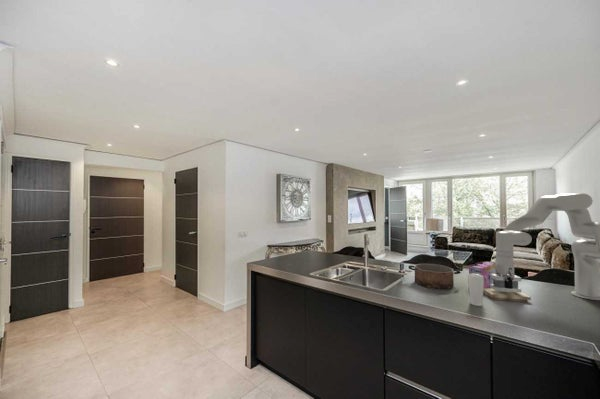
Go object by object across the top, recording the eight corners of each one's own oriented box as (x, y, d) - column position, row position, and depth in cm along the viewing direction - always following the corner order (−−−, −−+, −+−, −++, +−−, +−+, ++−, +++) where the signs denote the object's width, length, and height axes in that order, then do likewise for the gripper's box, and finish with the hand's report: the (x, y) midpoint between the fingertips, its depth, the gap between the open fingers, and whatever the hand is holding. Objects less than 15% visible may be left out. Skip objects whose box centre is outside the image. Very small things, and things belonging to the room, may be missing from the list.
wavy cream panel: (518, 295, 145) (517, 290, 145) (530, 302, 134) (530, 297, 134) (482, 293, 149) (482, 287, 149) (491, 300, 138) (491, 294, 138)
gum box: (484, 280, 173) (483, 260, 173) (498, 283, 166) (498, 262, 166) (468, 287, 159) (468, 265, 159) (483, 291, 153) (482, 268, 153)
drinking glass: (479, 308, 127) (479, 277, 128) (465, 303, 133) (465, 274, 134) (487, 305, 131) (486, 276, 131) (472, 301, 137) (472, 273, 137)
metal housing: (490, 287, 145) (490, 273, 146) (514, 288, 143) (514, 274, 143) (496, 291, 139) (496, 276, 140) (521, 292, 137) (521, 277, 137)
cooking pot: (456, 282, 170) (456, 265, 170) (464, 292, 150) (464, 274, 150) (408, 277, 182) (408, 262, 182) (408, 286, 161) (408, 269, 161)
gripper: (489, 250, 151) (489, 281, 151) (505, 256, 134) (506, 291, 134) (503, 251, 149) (504, 282, 149) (522, 257, 132) (523, 292, 132)
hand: (505, 286), depth 141 cm, fingers closed on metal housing, 6 cm apart
